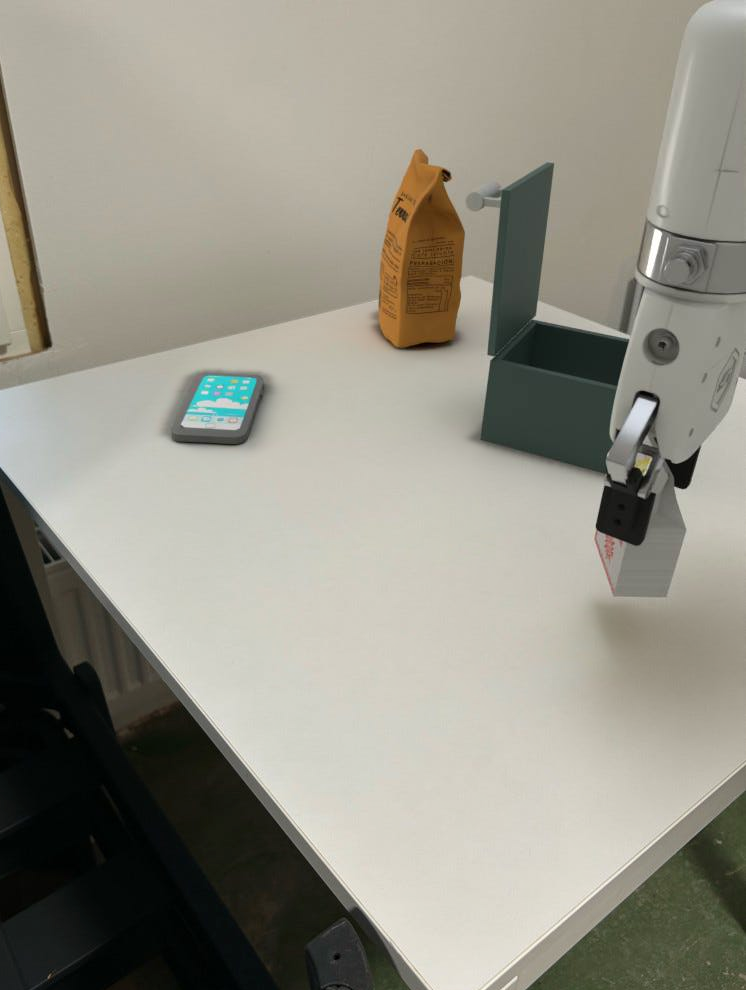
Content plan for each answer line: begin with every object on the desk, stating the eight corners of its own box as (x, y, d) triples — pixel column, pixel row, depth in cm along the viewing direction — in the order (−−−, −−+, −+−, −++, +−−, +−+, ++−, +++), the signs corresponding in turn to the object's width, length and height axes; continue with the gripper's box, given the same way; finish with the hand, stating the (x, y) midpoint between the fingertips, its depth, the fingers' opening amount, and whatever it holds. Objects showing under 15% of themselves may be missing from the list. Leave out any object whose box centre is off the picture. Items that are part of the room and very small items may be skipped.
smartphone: (165, 432, 86) (195, 370, 98) (166, 440, 87) (196, 378, 99) (246, 436, 86) (267, 374, 98) (247, 444, 87) (267, 381, 99)
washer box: (646, 431, 90) (668, 346, 84) (617, 484, 81) (639, 394, 76) (519, 399, 96) (532, 318, 90) (479, 447, 87) (490, 360, 81)
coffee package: (439, 313, 117) (453, 145, 104) (462, 348, 108) (481, 168, 94) (370, 316, 116) (376, 146, 103) (387, 352, 106) (396, 170, 93)
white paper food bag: (642, 539, 64) (672, 425, 57) (666, 597, 58) (701, 478, 52) (594, 538, 64) (618, 424, 58) (613, 596, 58) (642, 477, 52)
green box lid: (554, 162, 81) (500, 158, 83) (510, 190, 72) (450, 184, 74) (536, 315, 90) (487, 307, 92) (494, 356, 81) (441, 346, 83)
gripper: (723, 318, 40) (646, 594, 50) (818, 229, 51) (738, 472, 61) (579, 285, 44) (536, 548, 54) (696, 209, 54) (640, 441, 65)
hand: (643, 506), depth 58 cm, fingers closed on white paper food bag, 7 cm apart
